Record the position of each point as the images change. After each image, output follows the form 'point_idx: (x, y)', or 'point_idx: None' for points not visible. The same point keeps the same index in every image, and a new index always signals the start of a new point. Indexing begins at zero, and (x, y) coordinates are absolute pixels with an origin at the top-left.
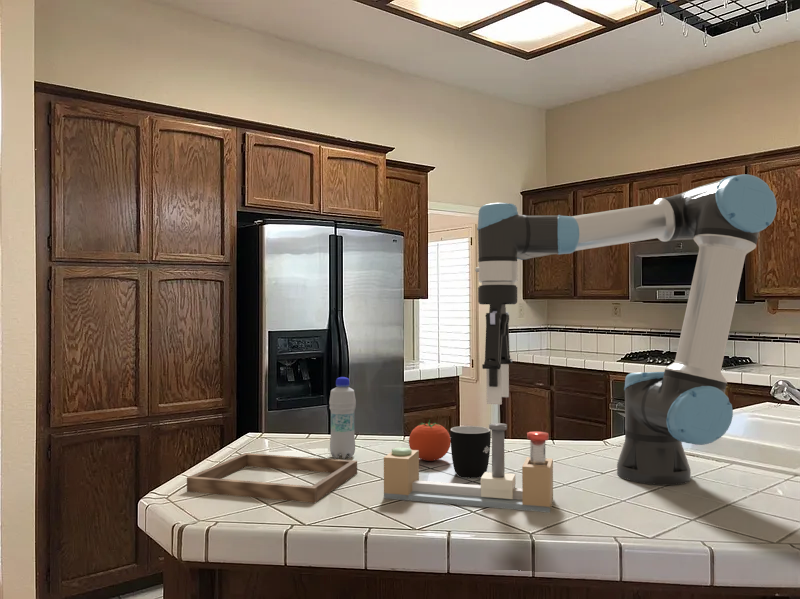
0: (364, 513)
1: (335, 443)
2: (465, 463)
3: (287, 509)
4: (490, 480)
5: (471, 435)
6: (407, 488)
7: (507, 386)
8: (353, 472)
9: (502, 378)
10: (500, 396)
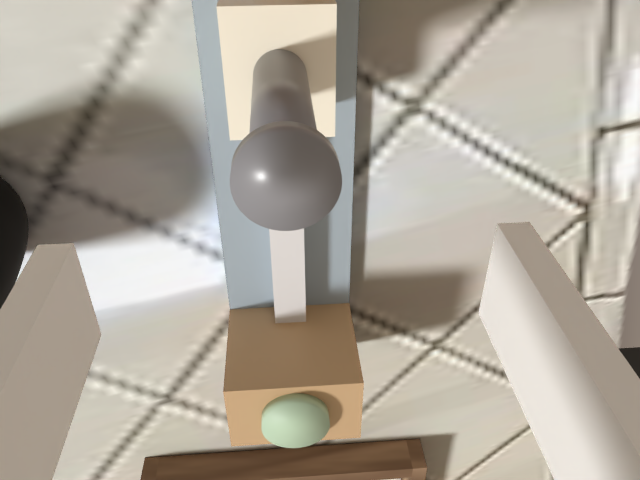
0: (476, 341)
1: None
2: (21, 242)
3: (471, 457)
4: (334, 96)
5: None
6: (351, 317)
7: (43, 315)
8: (172, 463)
9: (30, 418)
10: (557, 265)
